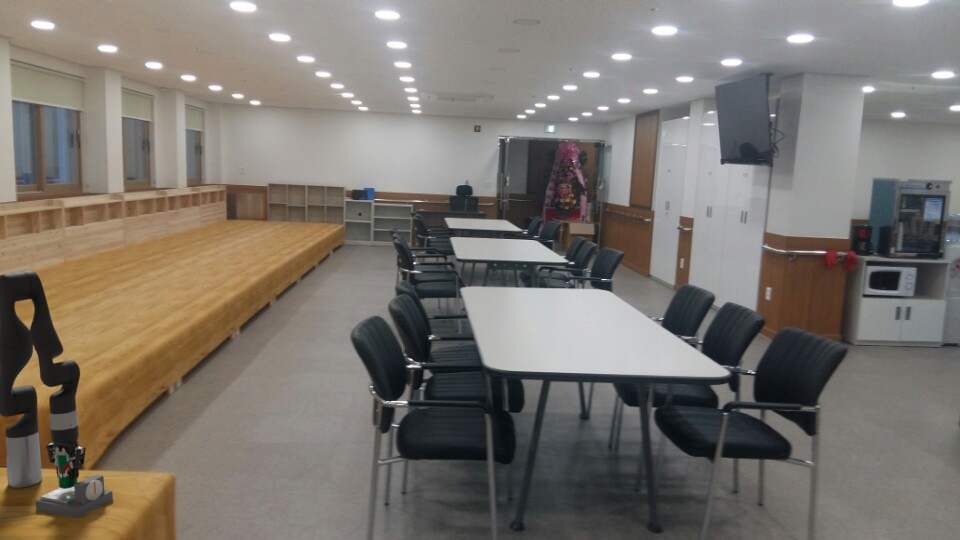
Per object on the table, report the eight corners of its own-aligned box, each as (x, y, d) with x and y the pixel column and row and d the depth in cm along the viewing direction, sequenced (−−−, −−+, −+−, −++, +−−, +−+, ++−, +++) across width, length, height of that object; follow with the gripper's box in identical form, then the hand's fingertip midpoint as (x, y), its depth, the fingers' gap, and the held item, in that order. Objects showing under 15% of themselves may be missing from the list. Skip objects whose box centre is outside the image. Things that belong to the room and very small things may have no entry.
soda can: (81, 483, 221) (78, 446, 220) (70, 489, 216) (67, 452, 215) (66, 482, 221) (63, 446, 220) (55, 489, 216) (52, 452, 215)
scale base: (35, 510, 215) (33, 482, 214) (72, 493, 227) (70, 466, 226) (78, 518, 210) (76, 489, 209) (113, 500, 222) (112, 473, 221)
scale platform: (40, 499, 215) (40, 496, 215) (71, 485, 226) (71, 482, 226) (67, 504, 212) (67, 501, 212) (97, 489, 222) (97, 486, 222)
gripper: (36, 426, 215) (40, 479, 217) (71, 431, 211) (75, 485, 213) (57, 419, 222) (61, 470, 224) (92, 423, 218) (95, 475, 220)
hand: (68, 477), depth 218 cm, fingers closed on soda can, 5 cm apart
